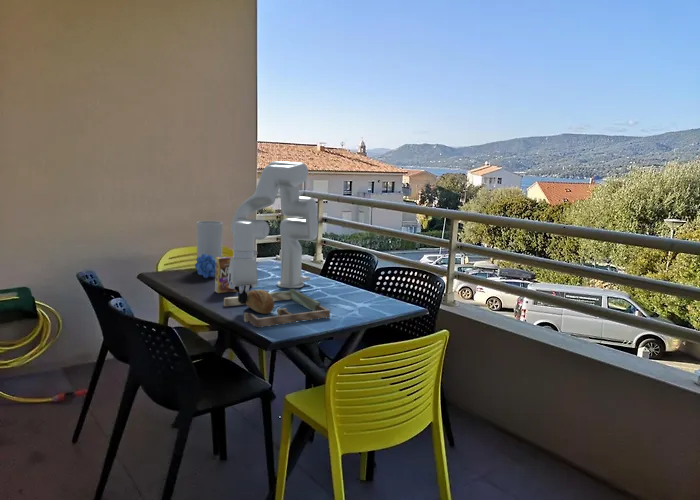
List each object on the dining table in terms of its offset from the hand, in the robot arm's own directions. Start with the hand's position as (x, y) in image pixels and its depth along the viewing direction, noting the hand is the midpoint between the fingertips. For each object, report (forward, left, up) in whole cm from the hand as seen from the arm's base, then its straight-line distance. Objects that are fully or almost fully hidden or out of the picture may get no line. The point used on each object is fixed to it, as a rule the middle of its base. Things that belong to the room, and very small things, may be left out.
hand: (242, 302), depth 185 cm
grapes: (-5, -59, -4) cm, 59 cm away
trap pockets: (-12, +15, -4) cm, 20 cm away
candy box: (-5, -32, -4) cm, 33 cm away
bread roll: (-6, 0, -4) cm, 8 cm away
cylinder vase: (-11, -76, -4) cm, 77 cm away
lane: (-12, 0, -4) cm, 12 cm away
